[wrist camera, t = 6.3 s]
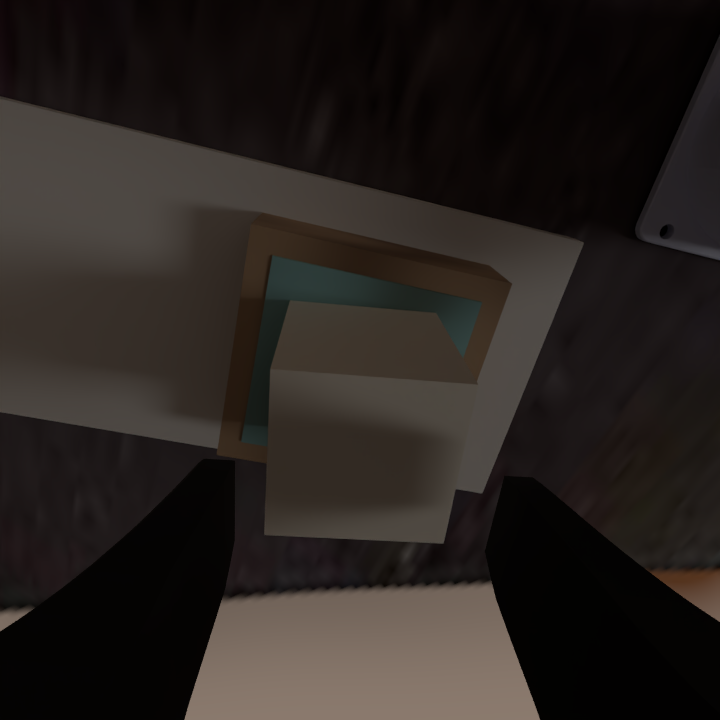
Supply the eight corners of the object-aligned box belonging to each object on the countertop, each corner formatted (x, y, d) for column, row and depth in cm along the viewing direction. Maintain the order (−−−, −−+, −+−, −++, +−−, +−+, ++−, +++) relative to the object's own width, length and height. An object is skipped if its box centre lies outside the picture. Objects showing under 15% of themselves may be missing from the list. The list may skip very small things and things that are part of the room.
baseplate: (571, 237, 18) (583, 242, 17) (476, 479, 23) (482, 493, 22) (-12, 93, 16) (-33, 90, 15) (2, 397, 20) (-14, 409, 19)
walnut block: (489, 265, 18) (513, 284, 15) (425, 452, 21) (437, 493, 18) (262, 212, 17) (250, 224, 14) (230, 418, 20) (216, 456, 17)
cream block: (436, 312, 15) (478, 384, 11) (414, 436, 17) (443, 543, 13) (289, 300, 15) (270, 369, 11) (283, 428, 17) (264, 534, 12)
